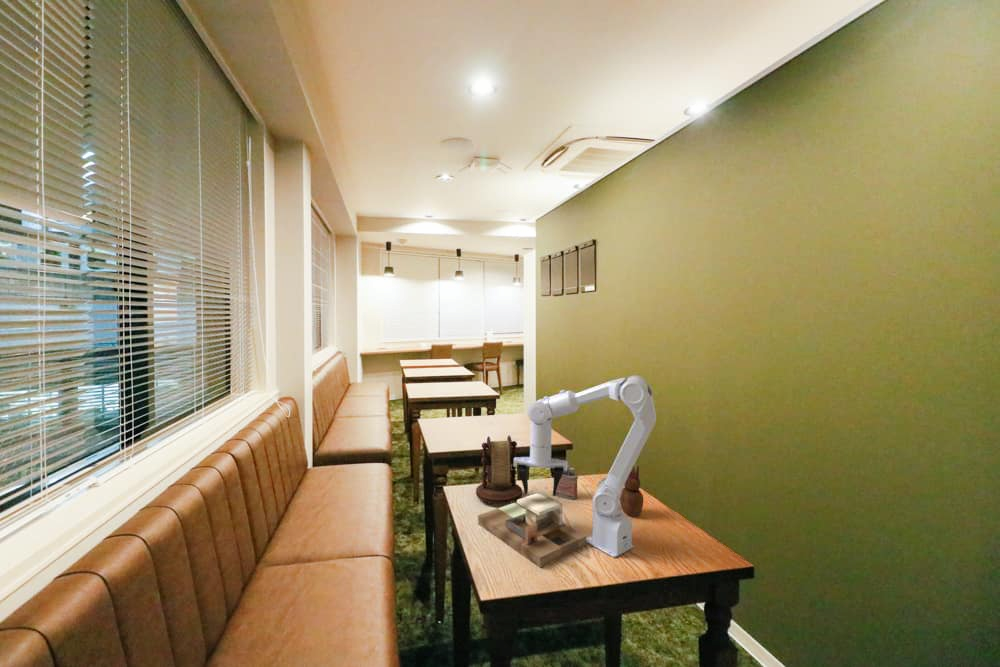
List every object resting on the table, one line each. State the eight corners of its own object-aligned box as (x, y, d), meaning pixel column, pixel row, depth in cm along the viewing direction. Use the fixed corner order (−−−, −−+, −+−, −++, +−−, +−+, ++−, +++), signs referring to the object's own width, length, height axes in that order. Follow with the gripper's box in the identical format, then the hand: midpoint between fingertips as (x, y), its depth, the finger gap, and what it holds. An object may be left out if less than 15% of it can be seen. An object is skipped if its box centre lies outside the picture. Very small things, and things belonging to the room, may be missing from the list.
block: (546, 524, 114) (546, 509, 114) (535, 528, 112) (535, 513, 112) (536, 518, 118) (536, 504, 117) (525, 522, 115) (525, 508, 115)
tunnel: (586, 545, 109) (586, 514, 108) (540, 567, 99) (540, 534, 98) (521, 508, 129) (521, 482, 128) (478, 523, 119) (478, 495, 119)
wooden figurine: (646, 517, 124) (648, 466, 123) (630, 520, 122) (632, 469, 121) (631, 507, 130) (632, 459, 129) (616, 510, 128) (617, 461, 127)
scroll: (479, 510, 127) (480, 444, 126) (473, 489, 142) (473, 430, 141) (527, 506, 130) (528, 442, 129) (516, 486, 145) (516, 428, 144)
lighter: (579, 497, 137) (579, 466, 136) (575, 501, 134) (575, 470, 134) (556, 491, 141) (556, 462, 141) (551, 495, 138) (552, 465, 138)
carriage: (561, 530, 111) (561, 515, 111) (527, 544, 104) (528, 528, 104) (534, 514, 119) (535, 501, 119) (502, 527, 112) (502, 512, 112)
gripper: (568, 441, 118) (567, 489, 118) (516, 438, 120) (515, 485, 121) (567, 449, 111) (566, 500, 112) (512, 446, 113) (512, 495, 114)
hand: (540, 493), depth 116 cm, fingers open, 7 cm apart
